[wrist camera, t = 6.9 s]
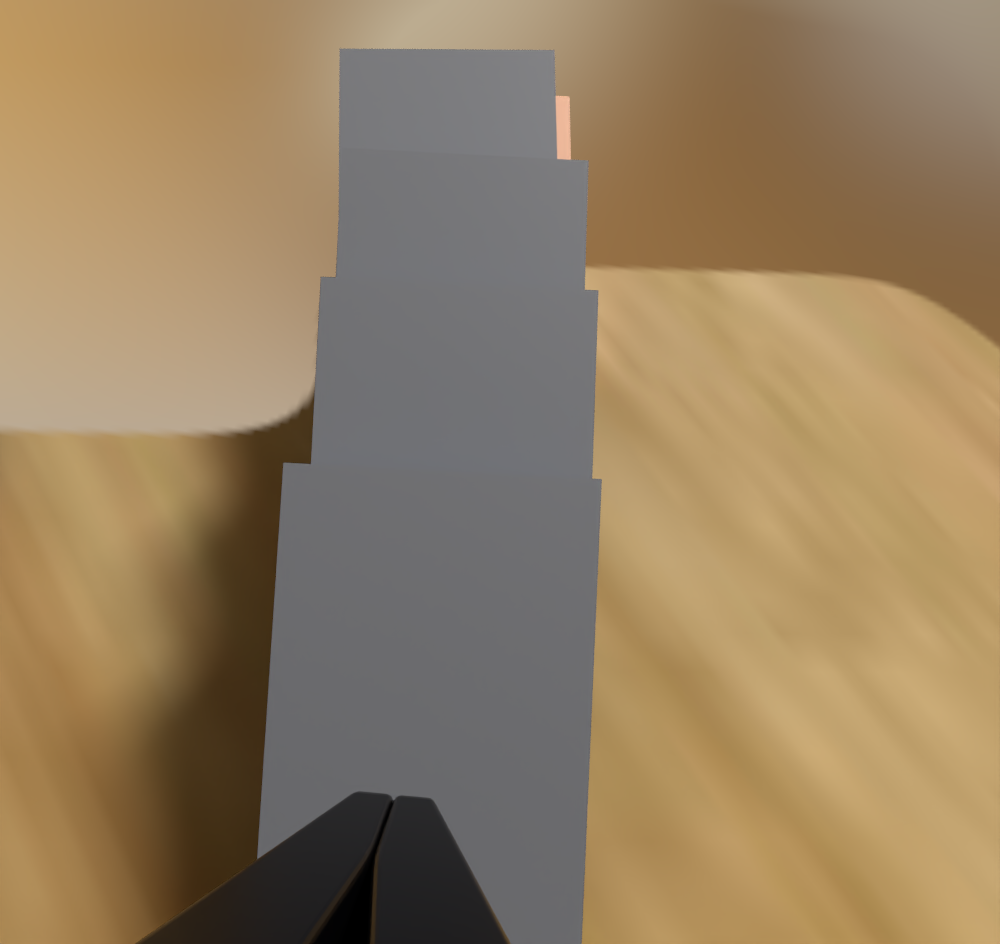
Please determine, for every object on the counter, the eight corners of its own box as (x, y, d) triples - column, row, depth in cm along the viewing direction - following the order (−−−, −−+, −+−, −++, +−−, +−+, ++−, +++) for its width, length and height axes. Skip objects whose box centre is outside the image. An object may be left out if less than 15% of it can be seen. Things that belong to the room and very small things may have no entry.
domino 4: (572, 1140, 12) (601, 478, 12) (239, 1130, 12) (283, 462, 12) (561, 1064, 13) (586, 483, 14) (267, 1056, 13) (305, 468, 14)
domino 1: (565, 473, 17) (554, 50, 18) (337, 477, 17) (339, 48, 18) (557, 481, 19) (547, 90, 20) (348, 484, 19) (350, 90, 20)
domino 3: (579, 855, 14) (598, 290, 14) (290, 848, 13) (320, 277, 14) (568, 819, 15) (585, 312, 16) (309, 812, 15) (336, 301, 16)
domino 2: (573, 655, 15) (588, 160, 16) (317, 648, 15) (342, 147, 16) (563, 642, 17) (577, 192, 17) (332, 635, 17) (353, 181, 17)
